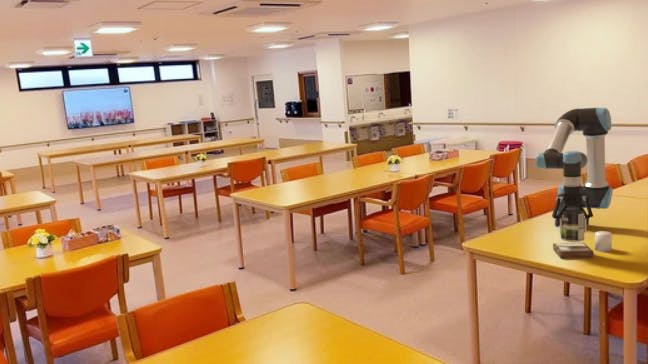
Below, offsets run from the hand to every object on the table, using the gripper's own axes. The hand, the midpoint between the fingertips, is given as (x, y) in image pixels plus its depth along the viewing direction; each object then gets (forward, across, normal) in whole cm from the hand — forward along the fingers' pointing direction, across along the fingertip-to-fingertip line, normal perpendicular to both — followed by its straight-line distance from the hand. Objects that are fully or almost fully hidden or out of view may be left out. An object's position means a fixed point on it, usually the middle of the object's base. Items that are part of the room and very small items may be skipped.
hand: (572, 232), depth 255 cm
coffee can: (+3, 0, 0) cm, 3 cm away
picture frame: (+10, 0, 0) cm, 10 cm away
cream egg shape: (+10, +15, +5) cm, 19 cm away
